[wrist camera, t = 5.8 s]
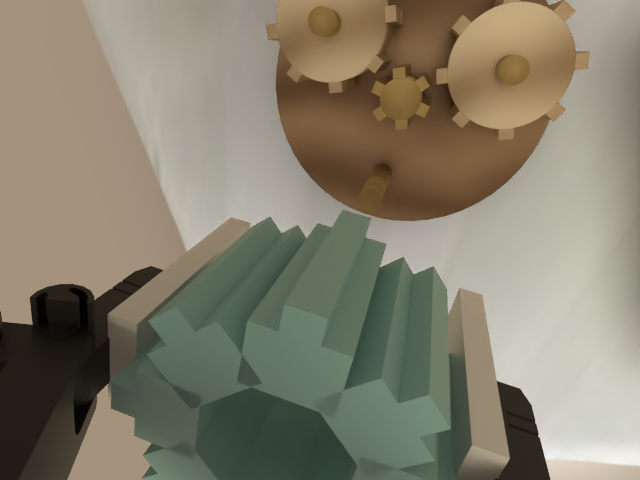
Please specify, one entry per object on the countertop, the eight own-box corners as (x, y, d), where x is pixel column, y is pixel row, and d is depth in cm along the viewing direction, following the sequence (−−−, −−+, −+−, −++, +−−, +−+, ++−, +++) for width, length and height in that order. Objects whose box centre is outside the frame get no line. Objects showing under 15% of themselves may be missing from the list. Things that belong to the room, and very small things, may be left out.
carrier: (261, -40, 30) (205, -68, 23) (573, -103, 24) (628, -166, 17) (298, 219, 37) (264, 259, 30) (546, 213, 32) (577, 260, 24)
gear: (229, 176, 12) (109, 246, 8) (496, 255, 11) (532, 386, 7) (205, 373, 16) (111, 500, 11) (409, 448, 15) (396, 622, 10)
